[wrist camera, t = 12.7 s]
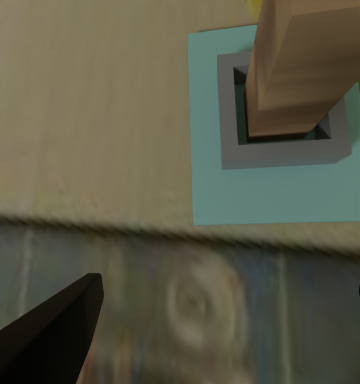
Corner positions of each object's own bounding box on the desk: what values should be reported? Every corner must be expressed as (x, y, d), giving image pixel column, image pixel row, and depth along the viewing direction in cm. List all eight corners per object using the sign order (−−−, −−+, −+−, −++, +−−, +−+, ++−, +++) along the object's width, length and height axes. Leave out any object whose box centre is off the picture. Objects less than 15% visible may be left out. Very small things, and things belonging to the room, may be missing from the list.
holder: (370, 220, 19) (404, 218, 16) (194, 225, 21) (190, 224, 18) (341, 22, 22) (364, -16, 19) (188, 41, 24) (184, 10, 21)
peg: (302, 139, 20) (439, -5, 8) (246, 142, 21) (291, 15, 8) (297, 88, 21) (414, -115, 9) (243, 94, 21) (280, -88, 9)
